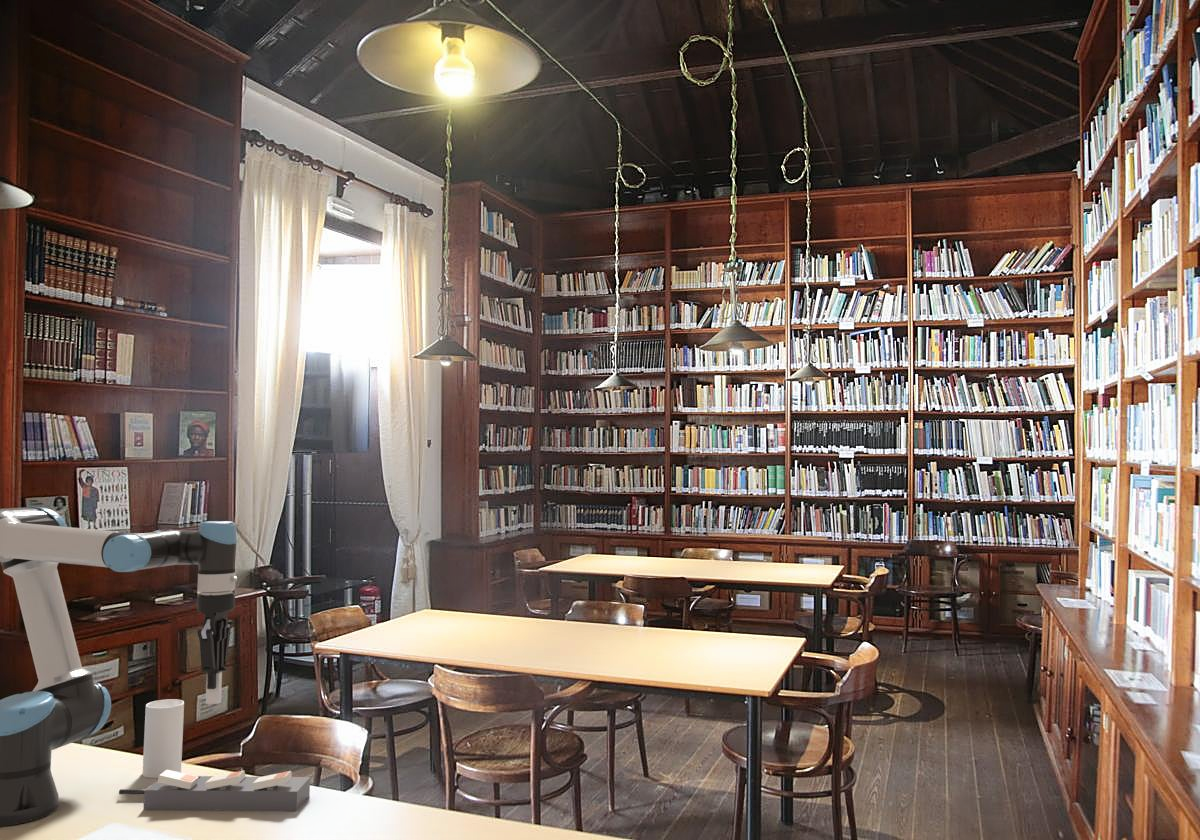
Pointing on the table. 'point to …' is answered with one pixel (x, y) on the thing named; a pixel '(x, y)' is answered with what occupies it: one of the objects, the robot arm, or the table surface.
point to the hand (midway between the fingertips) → (213, 702)
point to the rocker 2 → (225, 780)
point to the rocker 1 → (178, 779)
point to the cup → (163, 737)
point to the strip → (226, 796)
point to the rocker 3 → (272, 780)
